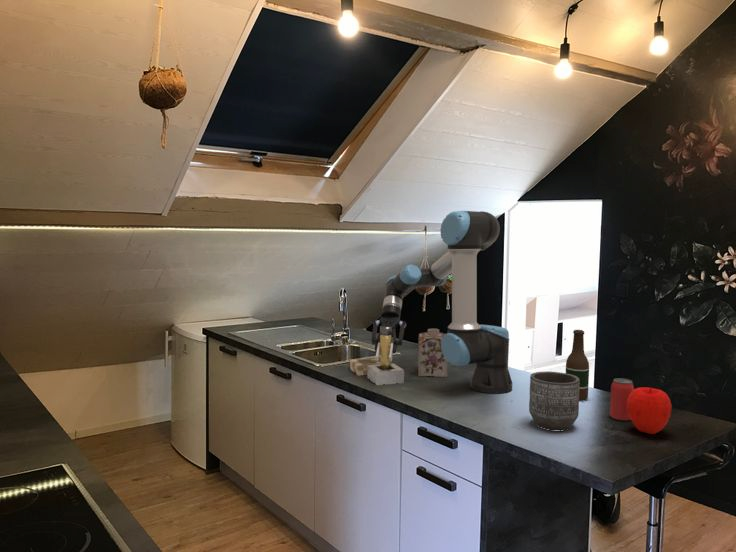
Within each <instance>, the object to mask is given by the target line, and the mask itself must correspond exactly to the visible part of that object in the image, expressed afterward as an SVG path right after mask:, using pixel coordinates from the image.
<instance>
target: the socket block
mask: <svg viewBox="0 0 736 552" xmlns="http://www.w3.org/2000/svg"><path fill="white" fill-rule="evenodd" d="M366 376H367V379H368V380H369V379H370V380H369V381H371V382H372V384H374V383H375V384H374V385H376V386H383V384H385V385H396V383H398V384H404V383H405V369H403V368H402V367H400V366H399V365H397V364H396V363H391V369H388V370H380V364H379V365H367V375H366Z"/></svg>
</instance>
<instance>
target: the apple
mask: <svg viewBox="0 0 736 552" xmlns="http://www.w3.org/2000/svg"><path fill="white" fill-rule="evenodd" d="M626 406H627V411H628V414H629V417H630V419H631V420H630V421H631V422H632V424H633V425H634V427H635V428H636V429H637V431H639V432H641V433H646V434H650V435H655V434H657V433H659V432H661V431H662V430H663V429H664V428H665V426H666V425H667V423H668V422H669V420H670V417H671V413H672V403H671V399H670V397H669V396H668V394H667V393H666V392H665V391H663V390H661V389H658V388H653V387H643V386H642V387H637V388H634V390H632V392H631V393H630V394H629V396H628V399H627V404H626Z"/></svg>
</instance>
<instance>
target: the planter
mask: <svg viewBox="0 0 736 552" xmlns="http://www.w3.org/2000/svg"><path fill="white" fill-rule="evenodd" d="M529 377H530V378H529V380H530V381H529V400H528V401H529V402H528V412H529V414H530V415H531V418H532V419H533V421H534V423H535V424H537V425H538V426H539V427H538V426H537V425H536V426H537V427H538V428H540V427H542V428H545V429H549V430H548V431H550V430H560V431H559V432H562V431H561V430H566V431H568V430H570V429H569V428H571V427H573V425H574V423H575V422H576V420H577V419H578V417H579V413H580V411H579V410H580V409H579V408H580V401H579V384H580V379H579V378H578V377H577V376H575V375H571V374H566V372H558V371H536V372H533V373H531V374H530V376H529ZM542 428H541V429H542ZM545 429H544V430H545ZM567 429H568V430H567Z"/></svg>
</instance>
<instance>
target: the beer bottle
mask: <svg viewBox="0 0 736 552" xmlns="http://www.w3.org/2000/svg"><path fill="white" fill-rule="evenodd" d="M572 334H573V337H572V338H573V341H572V349H571V352H570V353H569V355H568V357H567V359H566V361H565V373H566V374H571V375H575V376H577V377H578V378H579V379H580V384H579V402H584V401H588V398H589V383H590V382H589V380H590V379H589V378H590V363H589V359H588V357H587V356H586V353H585V346H584V345H585V343H584V335H585V330H582V329H573V332H572Z"/></svg>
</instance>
